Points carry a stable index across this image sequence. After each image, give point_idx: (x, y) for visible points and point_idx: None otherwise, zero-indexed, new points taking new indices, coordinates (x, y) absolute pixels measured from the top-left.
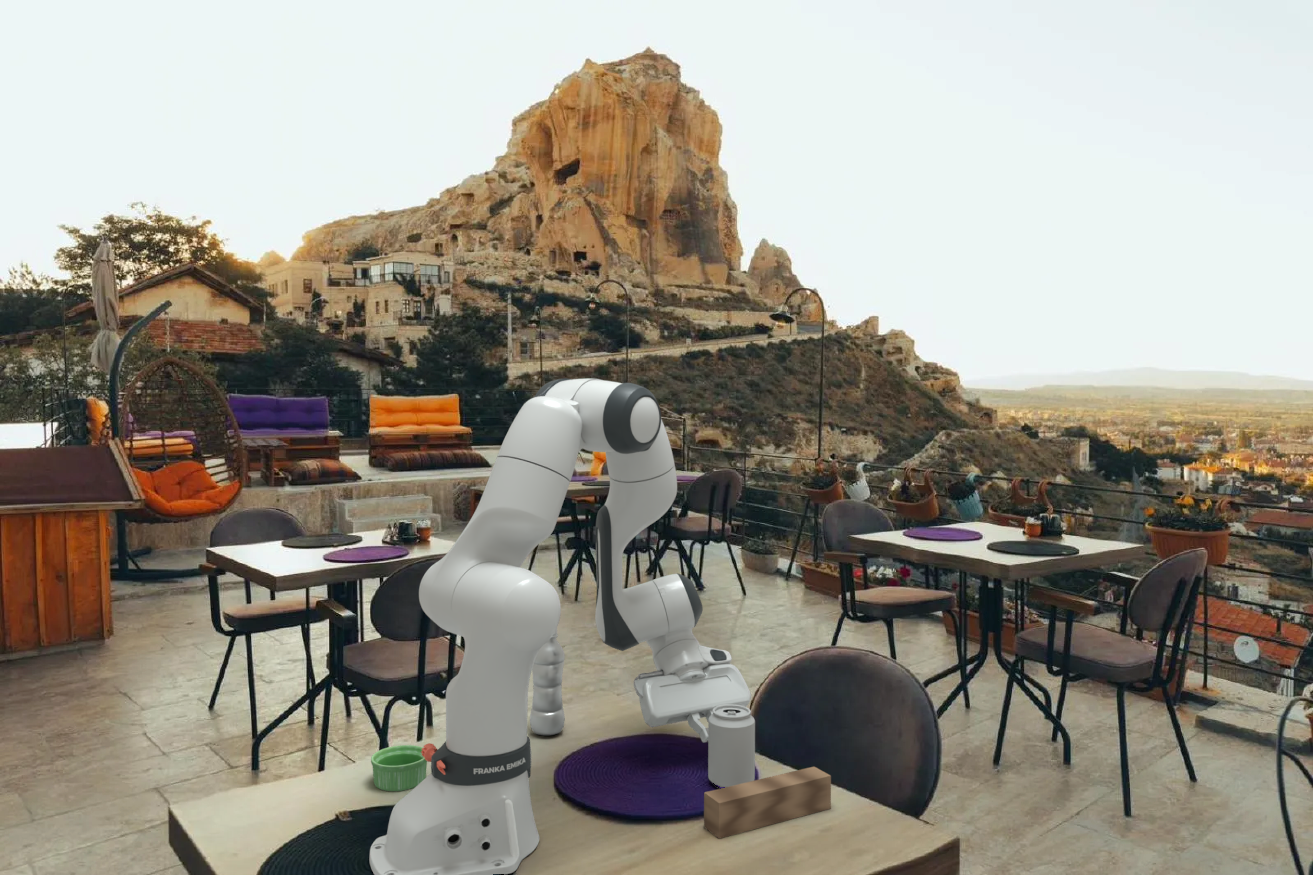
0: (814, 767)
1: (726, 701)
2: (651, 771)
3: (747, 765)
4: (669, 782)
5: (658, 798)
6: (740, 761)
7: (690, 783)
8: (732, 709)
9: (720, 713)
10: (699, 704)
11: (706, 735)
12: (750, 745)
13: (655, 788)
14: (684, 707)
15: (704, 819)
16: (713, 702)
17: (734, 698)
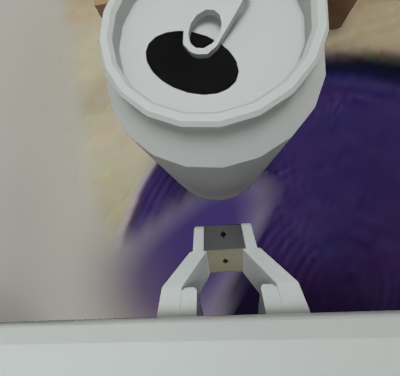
0: (97, 1)
1: (79, 337)
2: (355, 281)
3: (202, 90)
4: (334, 208)
5: (383, 148)
6: (221, 79)
7: (293, 186)
8: (152, 131)
9: (269, 48)
10: (267, 348)
11: (248, 226)
12: (184, 57)
13: (375, 192)
14: (390, 345)
15: (347, 13)
16: (162, 346)
17: (16, 349)
